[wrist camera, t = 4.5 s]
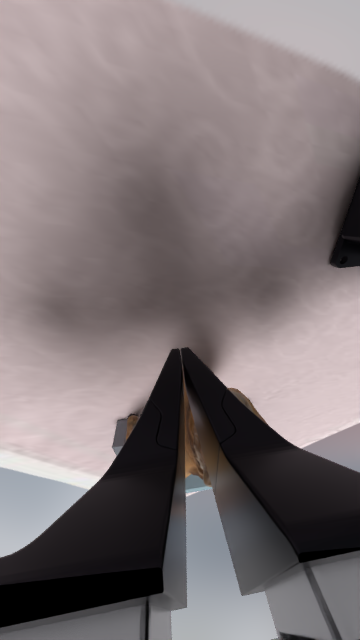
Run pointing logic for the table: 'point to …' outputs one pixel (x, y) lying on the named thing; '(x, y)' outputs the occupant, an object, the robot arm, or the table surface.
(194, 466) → the lion figurine
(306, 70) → the table surface
